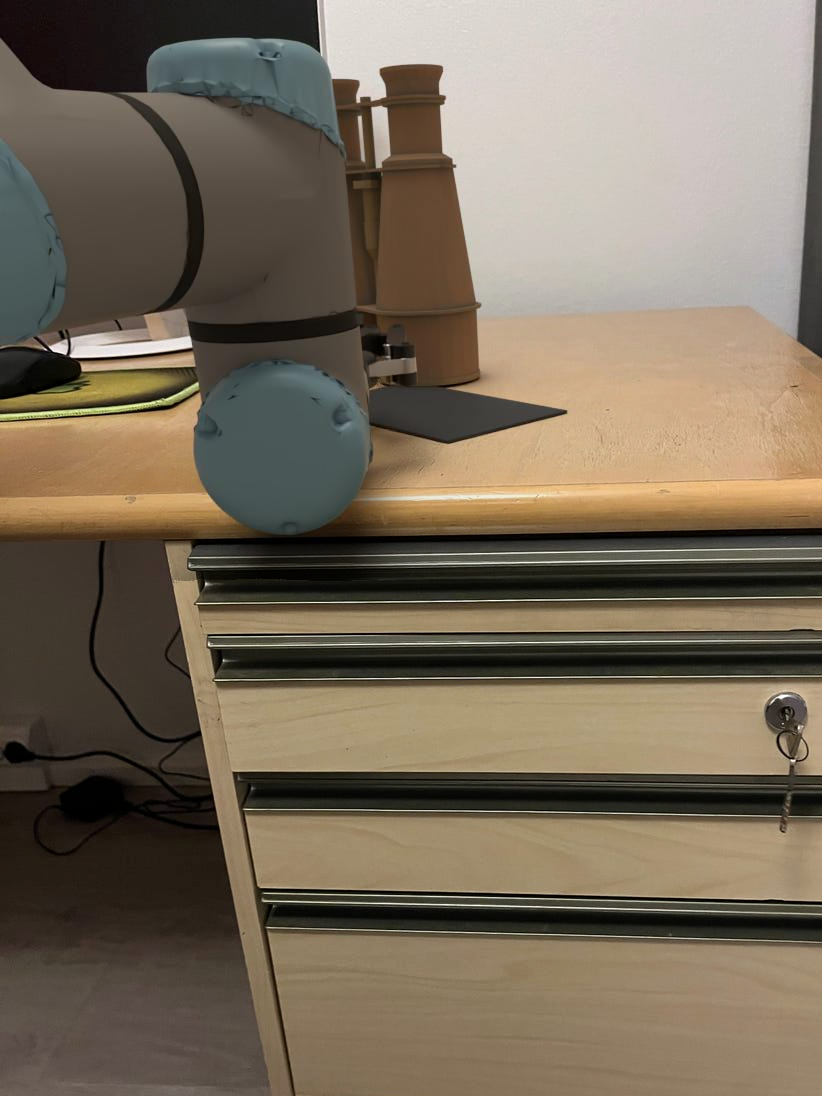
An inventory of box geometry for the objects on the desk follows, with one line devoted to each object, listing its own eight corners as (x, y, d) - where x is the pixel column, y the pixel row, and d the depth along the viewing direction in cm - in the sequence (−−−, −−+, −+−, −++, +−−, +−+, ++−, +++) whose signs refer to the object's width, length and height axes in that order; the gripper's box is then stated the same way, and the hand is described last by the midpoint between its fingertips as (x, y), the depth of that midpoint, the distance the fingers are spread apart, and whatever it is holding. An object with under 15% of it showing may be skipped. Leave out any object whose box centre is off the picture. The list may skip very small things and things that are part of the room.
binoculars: (285, 371, 98) (251, 85, 88) (362, 357, 105) (338, 90, 95) (428, 391, 85) (407, 57, 75) (506, 373, 92) (496, 64, 81)
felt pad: (297, 406, 83) (297, 404, 83) (410, 383, 90) (410, 381, 90) (447, 443, 69) (447, 440, 69) (567, 412, 76) (567, 410, 76)
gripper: (147, 470, 56) (208, 391, 77) (469, 446, 57) (442, 375, 78) (120, 333, 53) (191, 290, 74) (462, 311, 54) (436, 275, 75)
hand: (320, 334), depth 76 cm, fingers closed on supplement bottle, 5 cm apart
